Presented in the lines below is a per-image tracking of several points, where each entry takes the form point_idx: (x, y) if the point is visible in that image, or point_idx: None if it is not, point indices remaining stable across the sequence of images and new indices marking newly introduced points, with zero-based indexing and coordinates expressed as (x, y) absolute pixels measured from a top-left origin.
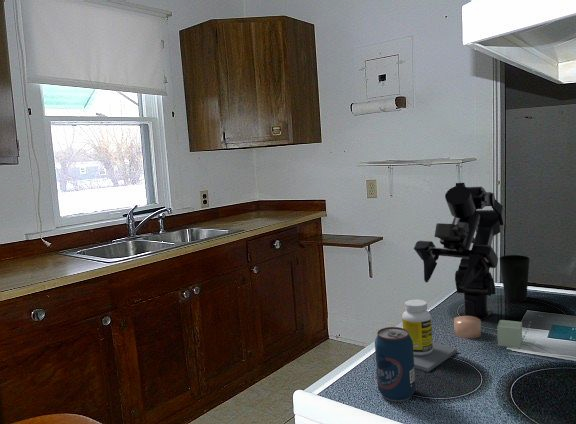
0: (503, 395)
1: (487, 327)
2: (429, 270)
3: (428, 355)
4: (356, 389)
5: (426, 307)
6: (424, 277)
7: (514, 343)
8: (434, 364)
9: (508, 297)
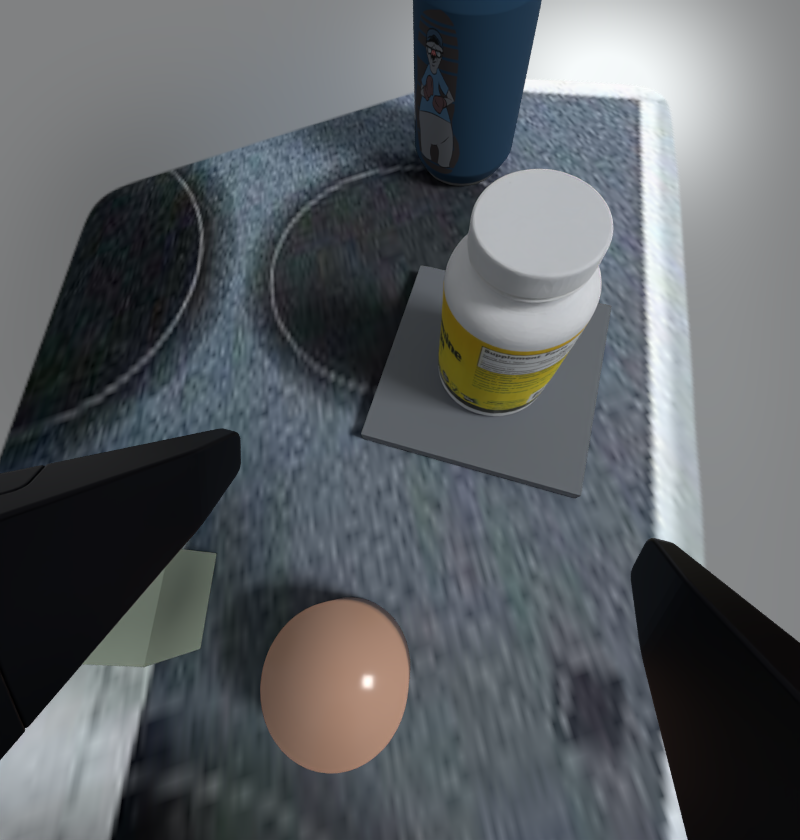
0: (219, 231)
1: (257, 803)
2: (722, 704)
3: None
4: (563, 143)
5: (468, 236)
6: (691, 558)
7: None
8: (409, 298)
9: None
